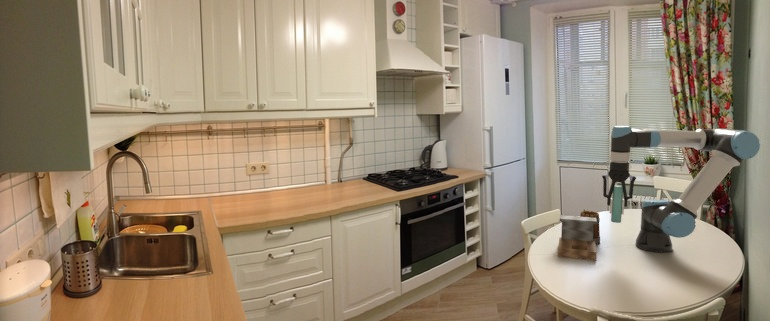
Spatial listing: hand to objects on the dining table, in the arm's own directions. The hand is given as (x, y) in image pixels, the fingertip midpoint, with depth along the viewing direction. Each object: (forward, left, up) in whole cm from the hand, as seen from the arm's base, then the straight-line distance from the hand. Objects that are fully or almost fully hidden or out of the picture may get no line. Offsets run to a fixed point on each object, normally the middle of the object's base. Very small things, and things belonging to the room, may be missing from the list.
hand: (616, 213), depth 200 cm
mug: (+11, -22, -21) cm, 32 cm away
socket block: (+16, -2, -21) cm, 26 cm away
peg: (0, 0, -4) cm, 4 cm away
